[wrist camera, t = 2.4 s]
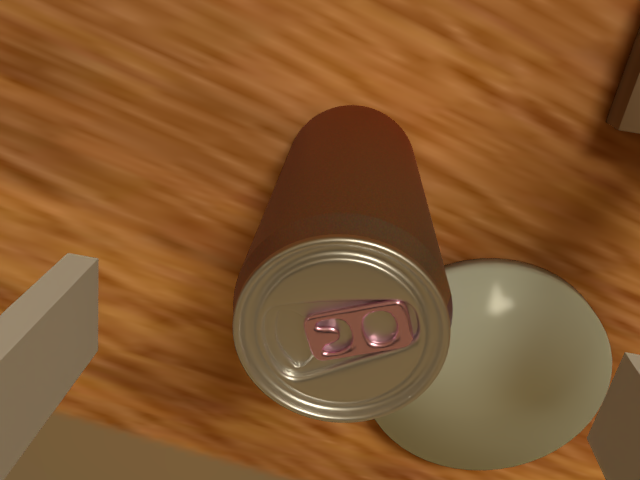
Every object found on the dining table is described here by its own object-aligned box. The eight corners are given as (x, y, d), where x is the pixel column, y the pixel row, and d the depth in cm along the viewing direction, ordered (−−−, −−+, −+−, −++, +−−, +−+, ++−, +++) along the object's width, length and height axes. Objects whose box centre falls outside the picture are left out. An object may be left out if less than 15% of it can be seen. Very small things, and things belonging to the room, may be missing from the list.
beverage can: (424, 208, 30) (474, 411, 16) (307, 231, 31) (261, 443, 17) (401, 88, 27) (437, 208, 14) (275, 118, 28) (192, 257, 15)
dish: (343, 434, 36) (343, 449, 35) (388, 238, 30) (388, 248, 29) (558, 471, 36) (565, 487, 35) (641, 282, 31) (651, 293, 29)
